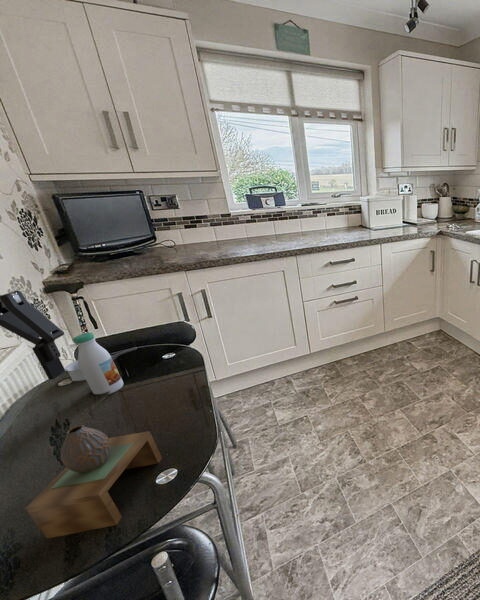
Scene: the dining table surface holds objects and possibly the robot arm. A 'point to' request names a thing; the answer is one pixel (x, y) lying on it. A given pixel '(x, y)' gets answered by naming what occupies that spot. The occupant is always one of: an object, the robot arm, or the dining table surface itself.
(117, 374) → the milk bottle
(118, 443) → the shelf
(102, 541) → the dining table surface
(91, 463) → the vase
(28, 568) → the dining table surface
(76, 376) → the saucepan
